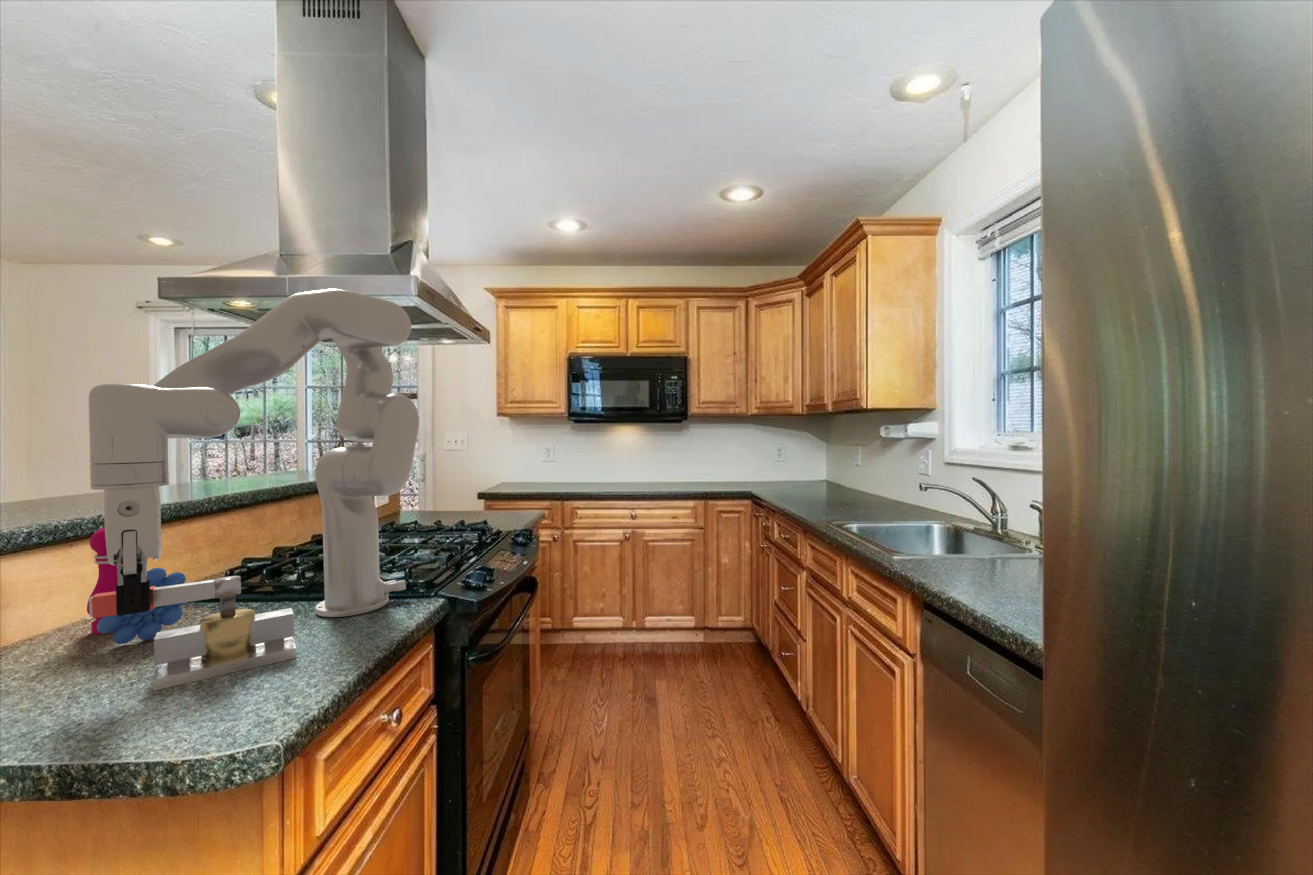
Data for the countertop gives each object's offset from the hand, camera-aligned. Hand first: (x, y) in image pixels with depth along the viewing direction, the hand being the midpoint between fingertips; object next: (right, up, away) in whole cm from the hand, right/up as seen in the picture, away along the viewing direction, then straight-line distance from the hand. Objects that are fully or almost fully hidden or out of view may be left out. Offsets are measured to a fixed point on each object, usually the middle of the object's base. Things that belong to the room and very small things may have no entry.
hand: (134, 611), depth 72 cm
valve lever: (+1, 0, +4) cm, 4 cm away
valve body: (+6, -10, +8) cm, 15 cm away
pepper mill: (-27, -11, +24) cm, 38 cm away
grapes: (-16, -11, +19) cm, 27 cm away
